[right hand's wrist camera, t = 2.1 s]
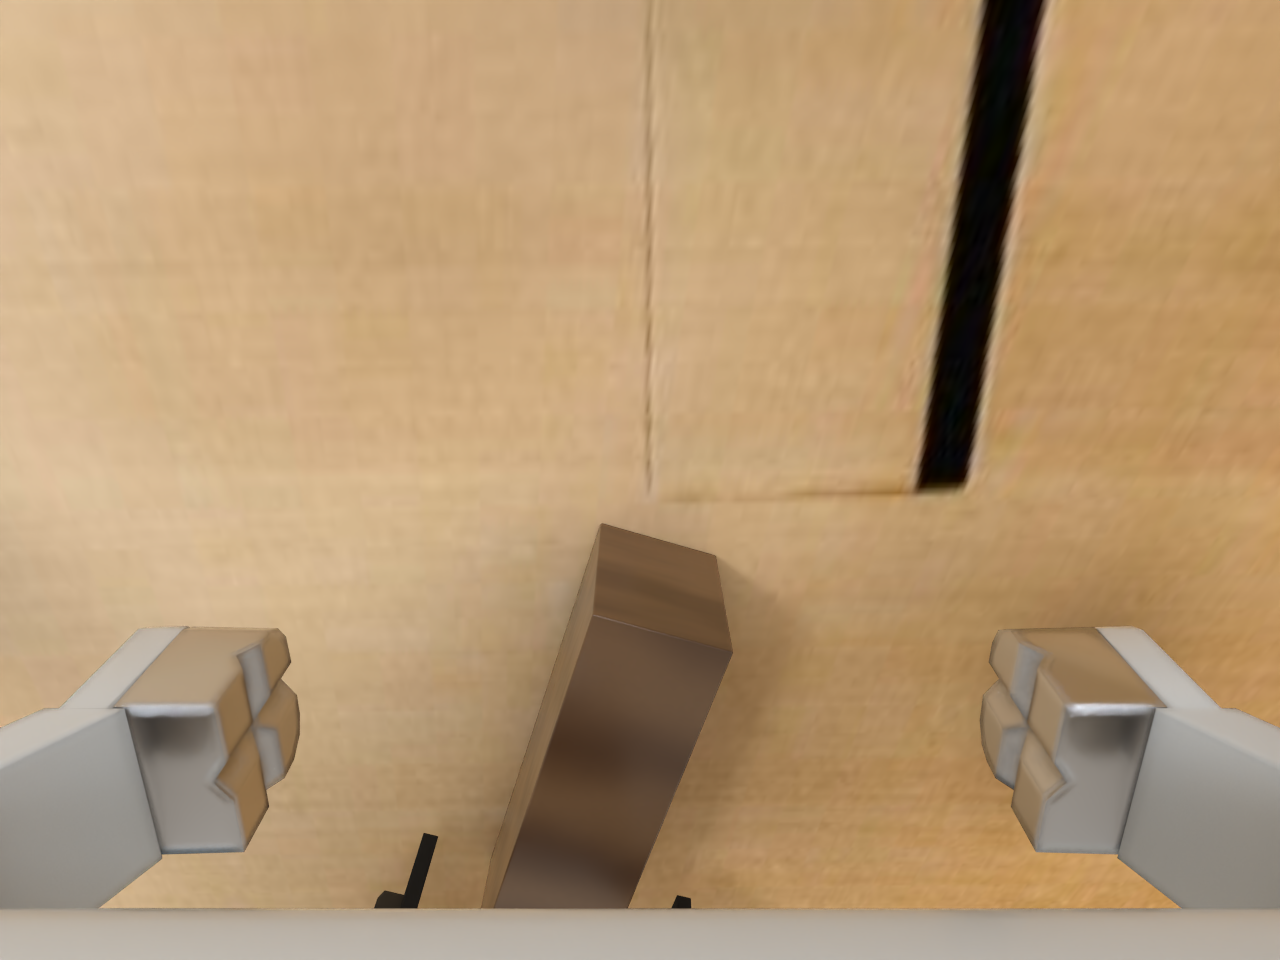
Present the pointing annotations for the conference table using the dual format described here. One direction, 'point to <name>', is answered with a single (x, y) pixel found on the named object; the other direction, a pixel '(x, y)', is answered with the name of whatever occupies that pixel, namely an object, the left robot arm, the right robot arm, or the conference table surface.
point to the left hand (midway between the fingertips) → (552, 884)
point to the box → (613, 726)
